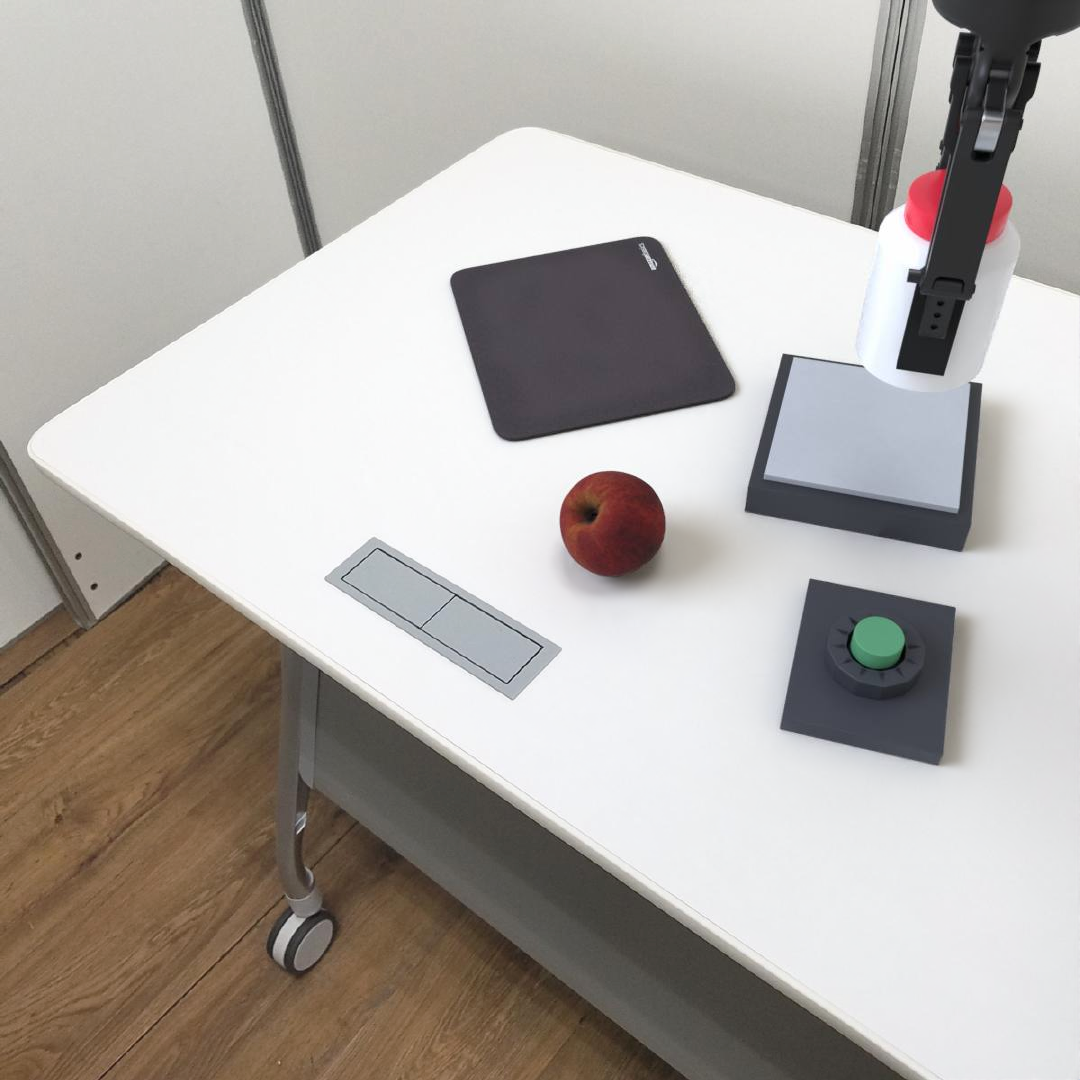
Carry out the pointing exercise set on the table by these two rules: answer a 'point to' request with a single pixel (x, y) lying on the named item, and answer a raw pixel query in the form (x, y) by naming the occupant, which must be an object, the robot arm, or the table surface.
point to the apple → (612, 523)
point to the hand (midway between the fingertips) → (926, 323)
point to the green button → (877, 642)
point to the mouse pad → (586, 338)
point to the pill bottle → (892, 294)
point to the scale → (867, 454)
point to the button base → (871, 674)
